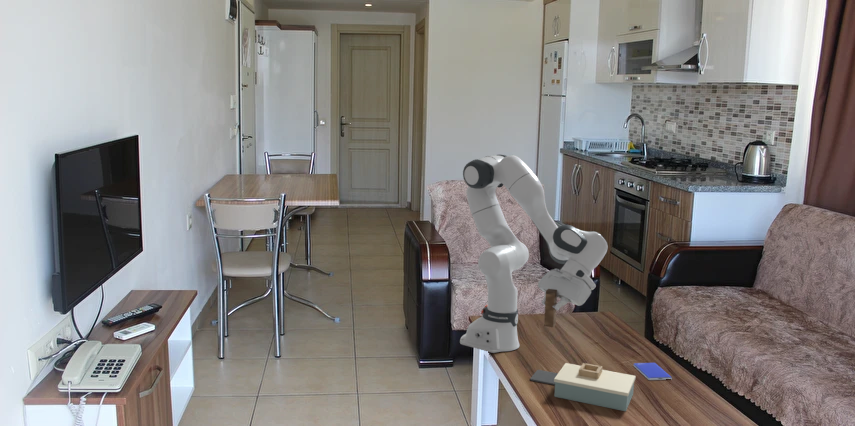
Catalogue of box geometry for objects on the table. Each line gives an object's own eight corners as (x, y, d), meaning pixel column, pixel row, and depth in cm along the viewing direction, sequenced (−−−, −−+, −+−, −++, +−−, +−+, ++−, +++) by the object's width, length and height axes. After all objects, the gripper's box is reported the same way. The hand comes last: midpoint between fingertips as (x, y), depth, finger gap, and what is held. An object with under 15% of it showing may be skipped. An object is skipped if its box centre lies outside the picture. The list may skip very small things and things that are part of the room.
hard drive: (633, 363, 244) (649, 377, 232) (655, 362, 245) (672, 376, 233) (633, 367, 244) (648, 381, 232) (655, 366, 245) (671, 381, 233)
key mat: (529, 380, 229) (530, 378, 229) (537, 370, 238) (537, 369, 237) (556, 385, 226) (556, 384, 226) (563, 375, 234) (563, 374, 234)
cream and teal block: (553, 396, 217) (554, 372, 216) (564, 379, 230) (565, 357, 229) (626, 411, 208) (628, 386, 207) (634, 393, 221) (636, 369, 220)
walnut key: (544, 326, 228) (545, 290, 226) (546, 323, 230) (548, 288, 228) (553, 327, 226) (554, 292, 224) (555, 324, 229) (557, 289, 227)
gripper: (548, 261, 238) (524, 292, 234) (590, 275, 220) (564, 309, 217) (558, 272, 240) (534, 303, 237) (599, 287, 223) (574, 321, 220)
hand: (549, 306), depth 227 cm, fingers closed on walnut key, 4 cm apart
